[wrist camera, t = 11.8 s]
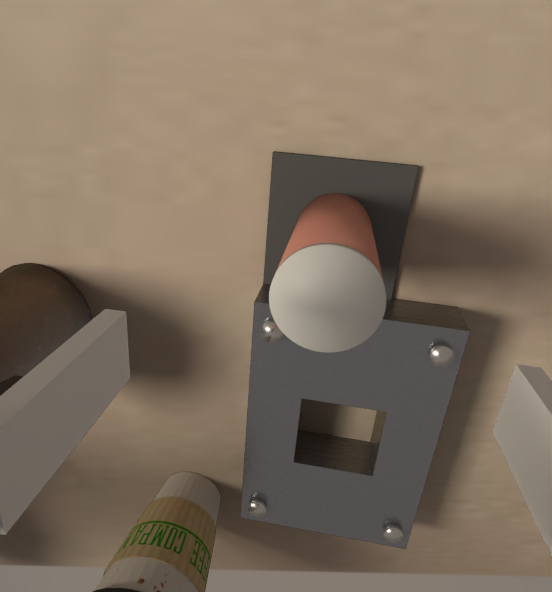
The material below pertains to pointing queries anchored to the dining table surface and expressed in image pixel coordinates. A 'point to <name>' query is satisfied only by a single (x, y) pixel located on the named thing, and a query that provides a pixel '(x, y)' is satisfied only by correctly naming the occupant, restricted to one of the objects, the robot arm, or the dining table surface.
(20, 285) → the pillar candle
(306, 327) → the pink round peg
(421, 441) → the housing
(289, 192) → the mat
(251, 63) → the dining table surface
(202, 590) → the coffee cup
